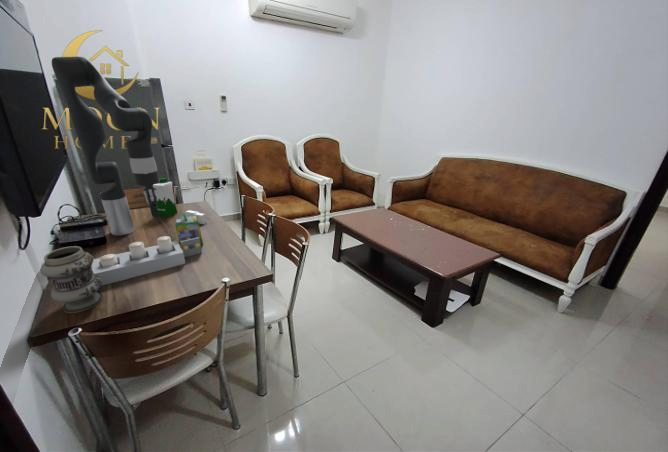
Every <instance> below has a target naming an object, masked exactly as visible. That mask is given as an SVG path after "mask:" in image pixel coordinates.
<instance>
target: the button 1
mask: <svg viewBox="0 0 668 452" xmlns="http://www.w3.org/2000/svg"><path fill="white" fill-rule="evenodd" d="M99 258H100V262H101V265H102V268H105V267H109V266H113V265H118V261H117V258H116V253H115V254H114V253H110V254H109V253H108V254H105V255H102V256H100V257H99Z"/></svg>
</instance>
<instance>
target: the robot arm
mask: <svg viewBox="0 0 668 452" xmlns="http://www.w3.org/2000/svg"><path fill="white" fill-rule="evenodd" d="M51 67H52V71H53V73H54V76H55V78H56V81H57V82H58V86H59V88H60V90H61V93H62V95H63V97H64V100H65V102H66V105H67V108H68V111H69V114H70V118H71V120H72V124H73V128H74V130H75V134H76V136H77V139H78V142H79V145H80V146H81V149H82V153H83V156H84V160H85V164H86V167H87V172H88V175H89V178H90V180H91V182H92V183H93V184H95V185H104V184H113V185H112V186H110V187H109V188H107V189H104V190H102V191H100V193H99V198H100V200H101V204H102V205H103V209H104V212H105V217H106V219H107V223H108V225H109V226H108V227H109V229H110V232H111V235H113V236H125V235H128V234H129V235H130V234H132V233H134V232H135V231H136V229H135V225H134V221H133V217H132V214H131V210H130V207H129V202H128V199H127V195H126V192H125V189H124V185H123V180H122V174H121V170H120V167H119V165H118V164H117V162H116V161H105V162H104V161H102V162H99V161H98V162H97V156H98V154H99V153H100V150H101V149H102V147H103V146H104V144H105V142H106V140H107V132H106V128H105V125H104V121H103V119H102V118H101V117H100V116H99V114H97V113H96V111H94V110H93V109H92V108H91V107H90V106H88V105H87V104H86V103H85V102H84V101H83V100H82V99H81V98H80V97H79V96H78V93H77V90H76V88H82V87H91V86H94V87H93V96H94V99H95V101H96V103H97V104H98V105H99V106H100V107H101V108H102V109H103V110H105V111H106V112H107V114H108V115H109V116H110V118H111V120H112V122H113V125H114V126H115V127H116V128H117V129H118V130H120V131H122V132H125V133H126V132H131V133H132V132H137V134H136V136H135V137H133V138H130V139H127V141H126V142H125V145H126V146H125V147H126V150H127V154H128V157H129V158H128V159H129V165H130V169H131V172H132V177H133V180H134V183H135V185H136V186H138V187H139V186H140V187H144V188H142V192H143V195H144V197H145V200H146V203H147V204H148V207H149V210H150V213H151V217H152V218H155V219H156V218H159V217H160V216H159V213H158V208H157V207H158V205H157V201H158V199H157V195H156V194H157V191H156V189H155V187H153V185H154V184H157V183H159V182H160V180H159V178H160V176H159V171H158V166H157V163H156V160H155V157H154V151H153V148H152V134H153V133H152V130H153V119H152V117H151V115H150V113H149V112H148V111H147V110H146V109H145V108H143V107H142V108H139V107H133V108H132V107H131V104H130V103H129V101H128V100H127V99H126V98H125V97H123V96H122V95H121V94H120V93H118V91H116V90H115V89H114V87H112V86H111V85H110V83H109V82H108V81H107V79H105V77H104V76H103V74H101V72H100V71H99V70H98V68H97V67H96V66H95V65H94V64H93V63H92V62H91V61H90V60H89V59H88V58H86V57H83V56H55V57H52V59H51Z"/></svg>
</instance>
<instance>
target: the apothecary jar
mask: <svg viewBox="0 0 668 452" xmlns="http://www.w3.org/2000/svg"><path fill="white" fill-rule="evenodd" d="M93 259H94V257H93V255H92V254H91V253H90V252H86V251H84V250H83V248H82V247H81V246H77V245H73V246H66V247H60V248H57V249H55V250H52V251H50V252H48V253H46V254H45V255H44V256H43V260H44V262H43V263H42V265H41V267H40V273H41V274H42V275H43V276H44V277H46V278H49V279H50V282H51V284H52V286H53V288H52V290H51V291H50V295H51V298H52V299H53V300H54V301H55V302H58V303H64V304H63V305H62V311H63V312H64V313H68V314H77V313H81V312H84V311H88V310H90V309H92V308H93V307H95V306H97V305H98V304H100V303H101V302H102V300H103V298H104V295H103V294H102V293H101V292H99V290H100V289H101V288H102V286H103V285H102V279H101V278H100V277H99V276H97V275H95V274H94V273H93V271H92V263H93Z"/></svg>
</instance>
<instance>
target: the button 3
mask: <svg viewBox="0 0 668 452" xmlns="http://www.w3.org/2000/svg"><path fill="white" fill-rule="evenodd" d="M171 239H172V238H171V237H170V236H168V235H164V236H160V237H157V239H156V243H157V245H158V247H159V251H160V252H161V253H167V252H170V251H172V250H173V247H172V243H171V242H172V240H171Z"/></svg>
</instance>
